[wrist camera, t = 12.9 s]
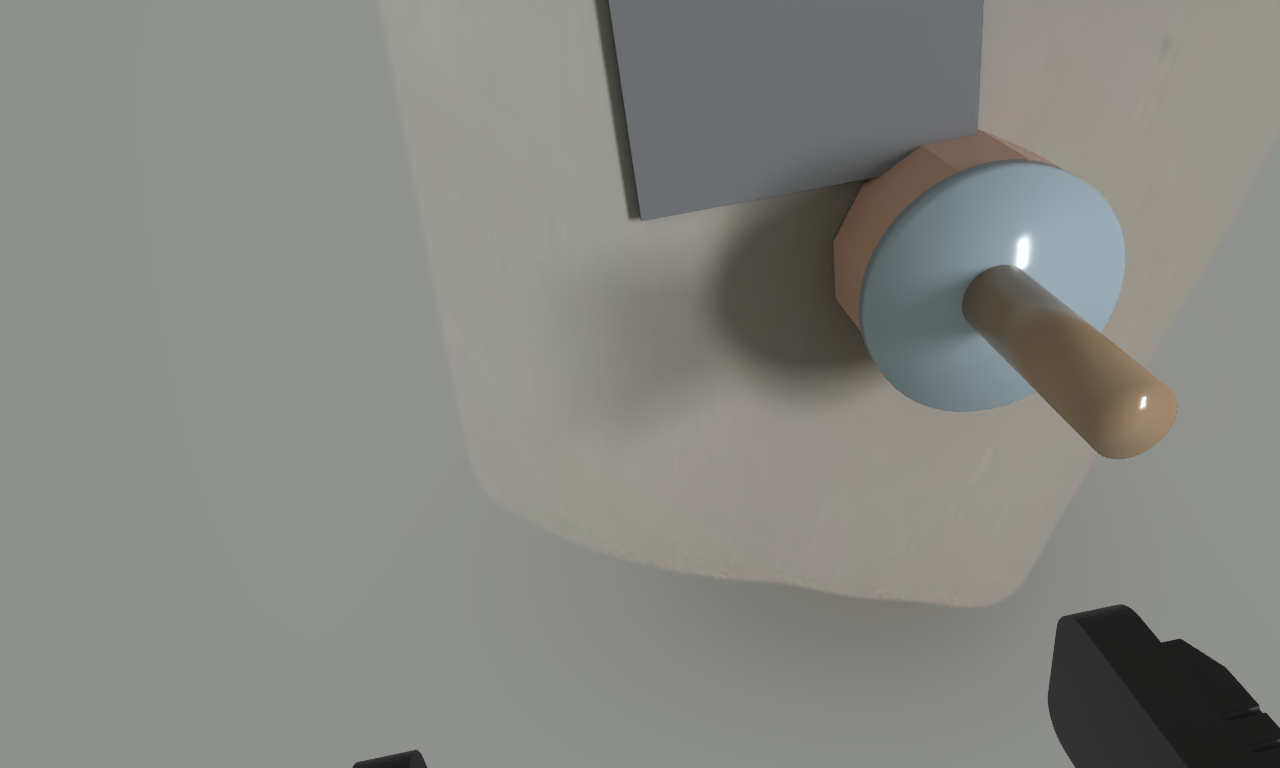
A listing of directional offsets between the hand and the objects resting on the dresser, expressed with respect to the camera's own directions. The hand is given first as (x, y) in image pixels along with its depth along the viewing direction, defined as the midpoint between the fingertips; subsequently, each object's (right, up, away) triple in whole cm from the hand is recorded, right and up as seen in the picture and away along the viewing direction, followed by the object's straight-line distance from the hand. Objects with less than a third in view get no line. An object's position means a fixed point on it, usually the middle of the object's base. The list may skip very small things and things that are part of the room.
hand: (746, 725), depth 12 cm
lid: (+12, +8, +25) cm, 29 cm away
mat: (+5, +18, +23) cm, 30 cm away
